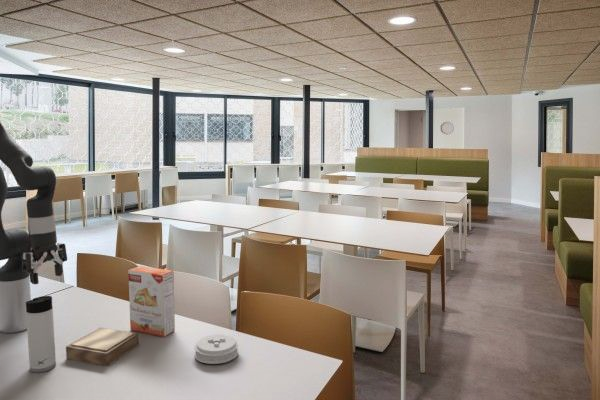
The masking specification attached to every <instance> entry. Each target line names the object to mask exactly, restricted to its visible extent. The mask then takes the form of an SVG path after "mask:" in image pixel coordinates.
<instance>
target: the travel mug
mask: <svg viewBox="0 0 600 400" xmlns="http://www.w3.org/2000/svg"><path fill="white" fill-rule="evenodd" d="M53 308H54V307H53V297H52V295H44V296H42V295H41V296H38V297H34V298H32V299H31V300H30V301H27V302H26V313H27V314H26V318H27V329H26V330H27V343H28V344H27V345H28V346H27V347H28V359H29V360H28V362H29V370H30V372H31V373H38V374H39V373H45V372H48V371H50V370H52V369H54V368H55V367H56V365H57V362H56V361H57V360H56V342H55V340H56V339H55V325H54V323H55V322H54V310H53Z"/></svg>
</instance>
